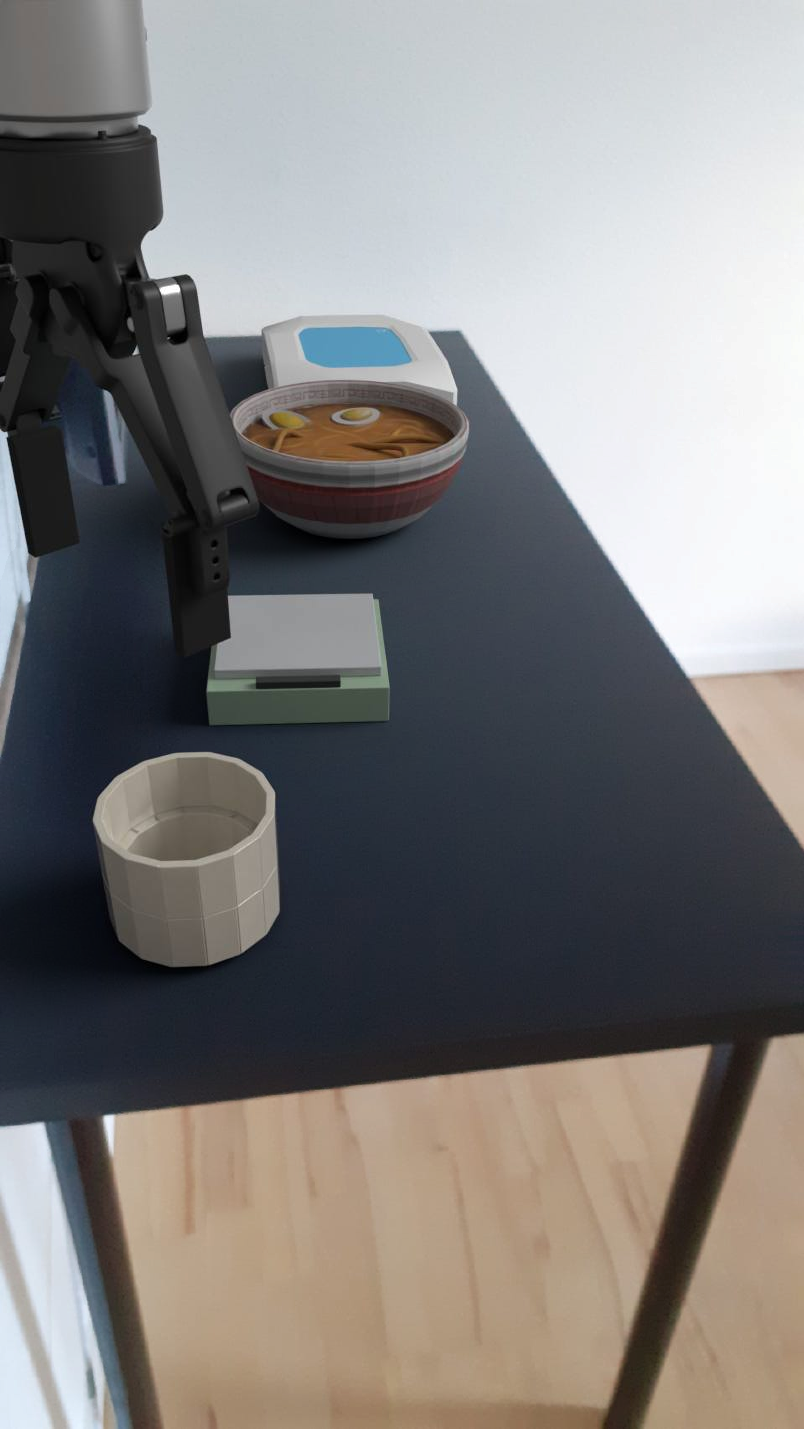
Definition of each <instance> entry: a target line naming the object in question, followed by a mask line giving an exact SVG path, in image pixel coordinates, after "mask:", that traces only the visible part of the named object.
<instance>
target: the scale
mask: <svg viewBox="0 0 804 1429" xmlns="http://www.w3.org/2000/svg"><path fill="white" fill-rule="evenodd" d="M228 603H229V617H230V630H231V638H230V639H227V640H225V641H223V642H220V643H218V644H216V645H213V646H211V647H210V656H209V665H208V675H207V681H206V689H205V693H206V703H207V714H208V715H207V716H208V725H209V726H237V725H238V726H241V725H242V726H243V725H244V726H245V725H277V724H278V725H279V724H280V725H281V724H283V725H284V724H321V723H322V724H323V723H324V724H325V723H326V724H327V723H361V722H362V723H364V722H365V723H366V722H389V720H390V694H391V693H390V689H391V688H390V687H391V686H390V680H389V671H388V664H387V657H386V648H385V641H384V634H383V633H384V632H383V624H382V617H381V611H380V610H381V609H380V602H379V599H378V598H374V594H373V593H319V594H318V593H317V594H314V593H311V594H309V593H308V594H247V595H246V594H245V595H228Z"/></svg>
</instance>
